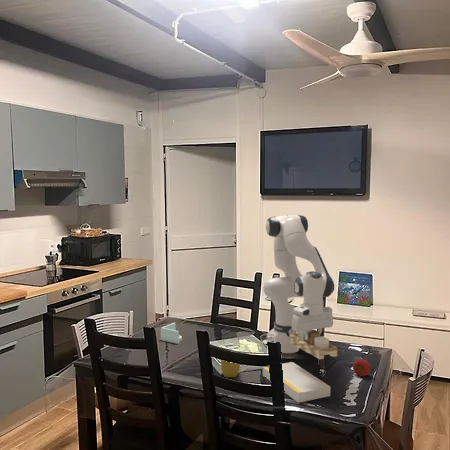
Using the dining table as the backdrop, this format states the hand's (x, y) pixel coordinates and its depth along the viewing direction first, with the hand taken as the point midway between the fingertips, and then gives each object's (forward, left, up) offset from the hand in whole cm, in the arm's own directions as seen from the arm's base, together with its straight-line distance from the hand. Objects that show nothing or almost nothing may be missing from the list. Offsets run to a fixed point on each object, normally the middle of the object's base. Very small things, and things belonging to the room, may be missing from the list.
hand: (312, 338), depth 222 cm
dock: (+2, -10, -19) cm, 22 cm away
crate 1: (-6, 0, -2) cm, 7 cm away
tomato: (+5, +24, -20) cm, 32 cm away
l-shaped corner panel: (-77, -38, -20) cm, 89 cm away
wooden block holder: (0, 0, -5) cm, 5 cm away
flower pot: (-19, -32, -20) cm, 42 cm away
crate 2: (+7, 0, -2) cm, 7 cm away
